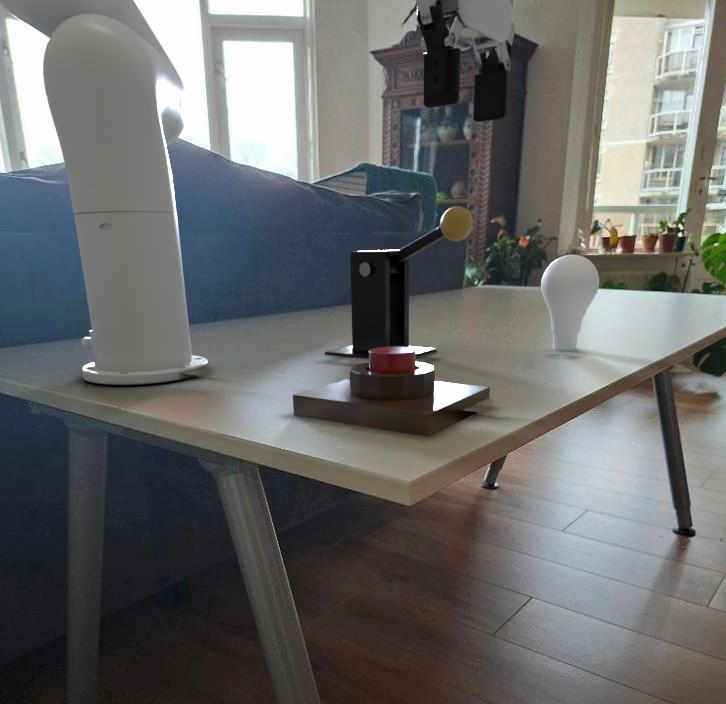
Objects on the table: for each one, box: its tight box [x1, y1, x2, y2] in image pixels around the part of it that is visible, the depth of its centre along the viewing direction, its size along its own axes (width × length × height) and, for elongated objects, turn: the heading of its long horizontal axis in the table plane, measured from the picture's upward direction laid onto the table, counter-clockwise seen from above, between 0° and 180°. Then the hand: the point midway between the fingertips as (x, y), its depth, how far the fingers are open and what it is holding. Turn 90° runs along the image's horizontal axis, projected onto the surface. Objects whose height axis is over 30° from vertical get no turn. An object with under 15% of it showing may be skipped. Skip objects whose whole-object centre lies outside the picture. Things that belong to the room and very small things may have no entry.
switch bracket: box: [324, 249, 438, 360], centre depth 74 cm, size 10×8×12 cm
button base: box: [292, 361, 491, 438], centre depth 52 cm, size 12×10×4 cm
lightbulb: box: [540, 254, 600, 352], centre depth 74 cm, size 6×6×11 cm
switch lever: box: [390, 205, 474, 278], centre depth 69 cm, size 13×3×3 cm, turn 56°
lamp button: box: [368, 347, 417, 373], centre depth 51 cm, size 4×4×2 cm
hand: (466, 113), depth 61 cm, fingers open, 9 cm apart
